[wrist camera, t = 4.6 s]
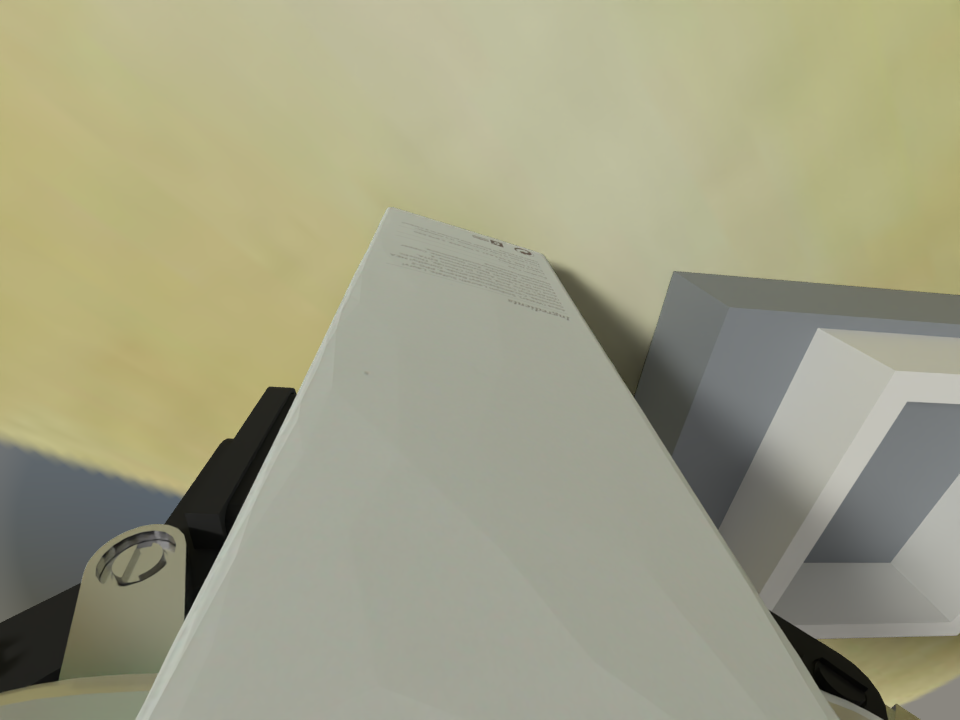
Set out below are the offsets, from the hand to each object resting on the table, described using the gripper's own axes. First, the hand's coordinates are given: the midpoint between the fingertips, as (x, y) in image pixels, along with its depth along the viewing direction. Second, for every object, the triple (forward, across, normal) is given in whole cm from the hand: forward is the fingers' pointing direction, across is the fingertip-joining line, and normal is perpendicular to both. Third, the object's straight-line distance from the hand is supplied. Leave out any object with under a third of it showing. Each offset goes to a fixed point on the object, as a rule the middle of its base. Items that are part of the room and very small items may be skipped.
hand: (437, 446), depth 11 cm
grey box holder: (+8, -18, +4) cm, 21 cm away
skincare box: (+7, 0, 0) cm, 7 cm away
